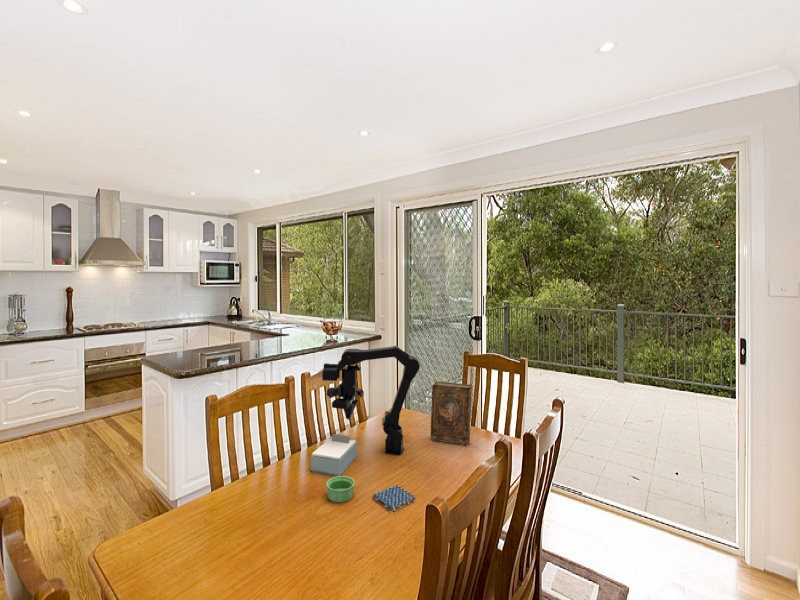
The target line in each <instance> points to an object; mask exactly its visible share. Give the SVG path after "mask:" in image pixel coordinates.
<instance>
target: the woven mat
mask: <svg viewBox="0 0 800 600" xmlns="http://www.w3.org/2000/svg"><path fill="white" fill-rule="evenodd" d="M371 499H372V500H373V501H374V502H376V503H377V504H379V505H380V506H382V507H383V509H386V510H387V511H388V512H389V513H391V514H393V513H394V512H396V511H400V509H402V508H404V507H407V506H408V505H409V506H410V504H411V505H413V503H415V502H416V497H414V495H412V494H411V492H408V491H407V490H405V489H404V488H402V486H399V485H398V484H395V485H392V486H391V487H388V488H385V489H382V490H380V491H377V492H376V493H374V494H373V495H372V496H371Z"/></svg>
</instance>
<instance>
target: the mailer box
mask: <svg viewBox="0 0 800 600" xmlns="http://www.w3.org/2000/svg"><path fill="white" fill-rule="evenodd" d="M357 446H358V443H357V442H356V443H355V444H354V445H353V446H352V447H351V448H350V449H349V450H348V451H347V452H346V453H345V454H344V455H343V456H342V457H341V458H340V460H337V459H331V458H325V457H319V456H313V455H312V454H311V458H310V472H311V471H312V472H311V473H318V474H324V475H330V476H333V477H337V476H342V474H343V473H344V472H345V471H346V469H348V467H349V466H350V465H351V464H352V463H353V462H354V460H355V459H357V456H358V455H357V454H358V451H357V449H358V448H357Z"/></svg>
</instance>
